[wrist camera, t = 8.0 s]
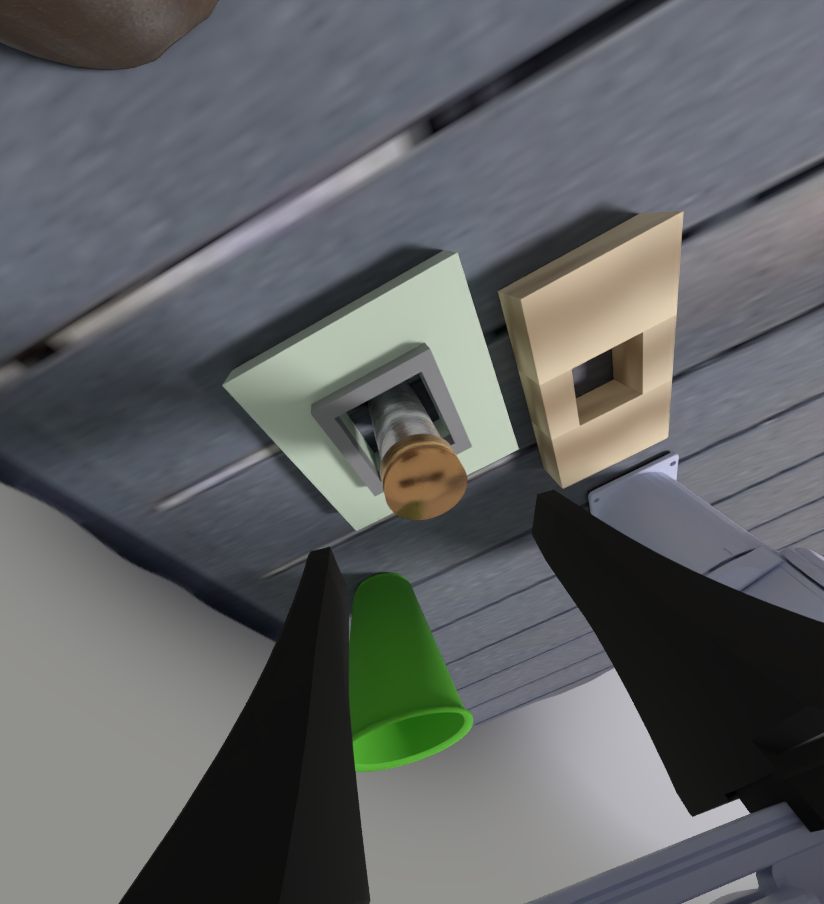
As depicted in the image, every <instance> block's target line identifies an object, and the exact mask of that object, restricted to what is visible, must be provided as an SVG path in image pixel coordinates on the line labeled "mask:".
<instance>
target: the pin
mask: <svg viewBox="0 0 824 904" xmlns="http://www.w3.org/2000/svg"><path fill="white" fill-rule="evenodd" d="M368 410H369V414H370V418H371V422H372V426H373V430H374V434H375V438H376V442H377V446H378V450H379V454H380V458H381V464H380V477H381V482H382V486H383V490H384V495H385V499H386V502H387V505H388V507H389V508H390V509H391V510H392V511H393V512H394V513H395V514H396V515H398V516H400V517H402V518H405V519H410V520H426V519H431V518H434V517H437V516H439V515H442V514H444V513H445V512H447V511H448V510H450V509H451V508H453V507H454V506H455V505H456V504H457V503H458V502H459V500H460V499H461V498H462V496H463V495H464V492H465V490H466V487H467V474H466V471H465V469H464V467H463V465H462V464H461V462H460V460H459V459H458V457H457V455H456V454H455V452H454V450H453V449H452V447H451V445H450V444H449V443H448V442H447V441H446V440H444V439H443V438H441V437H440V435H439V433H438V431H437V430H436V428H435V426H434V424H433V422H432V421H431V419H430V417H429V415H428V414H427V412H426V410H425V408H424V407H423V405H422V403H421V401H420V399H419V398H418V396H417V394H416V392H415V391H414V389H413V388H412V387H411V386H410V385H409V384H408V383H406V382H404V381H403V382H401V383H399V384H398V385H396V386H394V387H392V388H390V389H388V390H386V391H385V392H383V393H381V394H379V395H377V396H375V397H373V398H372V399H370V400H368Z"/></svg>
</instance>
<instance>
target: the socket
mask: <svg viewBox="0 0 824 904" xmlns="http://www.w3.org/2000/svg"><path fill="white" fill-rule="evenodd" d="M418 373H419V375H420V378H421V380H422V382H423V384H424V386H425V388H426V390H427V392H428V394H429V396H430V399H431V401H432V403H433V405H434V407H435V409H436V411H437V413H438V415H439V417H440V419H438V420H436V421H434V422H433V424H434V426H435V428H436V430H437V431H438V433H439V435H440V437H441V438H443V439H444V440H446V441H447V442H448V443H449V444H450V445H451V447H452V449H453V450H454V452H455V454H456V455H457V457H458V459H459V460H460V462H461V464H462V465H463V467H464V469H465V471H466V474H467V475H469V474H471V473H473V472H475V471H477V470H479V469H481V468H483V467H485V466H487V465H489V464H491V463H493V462H495V461H497V460H498V459H500V458H502V457H504V456H506V455H508V454H510V453H512V452H514V451H516V450H518V449H519V448H518V445H517V442H516V439H515V435H514V432H513V429H512V426H511V423H510V419H509V416H508V413H507V410H506V407H505V403H504V400H503V397H502V394H501V391H500V387H499V384H498V381H497V378H496V375H495V371H494V368H493V365H492V362H491V359H490V355H489V352H488V349H487V346H486V343H485V339H484V336H483V333H482V330H481V327H480V323H479V320H478V317H477V314H476V310H475V307H474V304H473V301H472V298H471V294H470V291H469V288H468V285H467V282H466V278H465V275H464V272H463V269H462V266H461V262H460V259H459V256H458V253H457V252H451V251H445V250H443V251H441V252H440V253H438V254H436V255H434V256H433V257H431V258H429V259H427V260H426V261H424V262H422V263H420V264H419V265H417V266H415V267H413V268H412V269H410V270H408V271H406V272H404V273H403V274H401V275H399V276H397V277H396V278H394V279H392V280H390V281H389V282H387V283H385V284H383V285H382V286H380V287H378V288H376V289H374V290H373V291H371V292H369V293H367V294H366V295H364V296H362V297H360V298H359V299H357V300H355V301H353V302H352V303H350V304H348V305H346V306H344V307H343V308H341V309H339V310H337V311H336V312H334V313H332V314H330V315H329V316H327V317H325V318H323V319H322V320H320V321H318V322H316V323H315V324H313V325H311V326H309V327H307V328H306V329H304V330H302V331H300V332H299V333H297V334H295V335H293V336H292V337H290V338H288V339H286V340H285V341H283V342H281V343H279V344H277V345H276V346H274V347H272V348H270V349H269V350H267V351H265V352H263V353H262V354H260V355H258V356H256V357H255V358H253V359H251V360H249V361H247V362H246V363H244V364H242V365H240V366H239V367H237V368H235V369H233V370H232V371H231V373H230V374H229V376H228V377H227V379H226V380H225V382H224V383H223V385H222V386H223V387H224V388H225V389H226V390H227V391H228V392H229V393H230V394H231V396H232V397H233V398H234V399H235V400H236V401H237V402H238V403H239V404H240V405H241V406H242V407H243V409H244V410H245V411H246V412H247V413H248V414H249V415H250V416H251V417H252V418H253V419H254V421H255V422H256V423H257V424H258V425H259V426H260V427H261V428H262V429H263V430H264V431H265V432H266V434H267V435H268V436H269V437H270V438H271V439H272V440H273V441H274V442H275V443H276V444H277V445H278V447H279V448H280V449H281V450H282V451H283V452H284V453H285V454H286V455H287V456H288V457H289V458H290V460H291V461H292V462H293V463H294V464H295V465H296V466H297V467H298V468H299V469H300V470H301V471H302V473H303V474H304V475H305V476H306V477H307V478H308V479H309V480H310V481H311V482H312V483H313V484H314V486H315V487H316V488H317V489H318V490H319V491H320V492H321V493H322V494H323V495H324V496H325V497H326V499H327V500H328V501H329V502H330V503H331V504H332V505H333V506H334V507H335V508H336V509H337V510H338V512H339V513H340V514H341V515H342V516H343V517H344V518H345V519H346V520H347V521H348V522H349V524H350V525H351V526H352V527H353V528H354V529H355V530H356V531H358V530H360V529H362V528H364V527H366V526H368V525H370V524H372V523H374V522H376V521H378V520H380V519H382V518H384V517H386V516H388V515H390V514H392V513H394V512H393V511H392V510H391V509H390V508H389V507H388V505H387V502H386V499H385V495H384V490H383V486H382V482H381V477H380V464H381V458H380V454H379V451H377V452H375V453H374V452H373V451H372V449H371V448H370V446H369V445H368V443H367V442H366V441H365V439H364V438H363V436H362V435H361V433H360V432H359V430H358V429H357V427H356V426H355V425H354V423H353V422H352V420H351V419H350V417H349V416H348V414H347V413H346V412H347V411H349V410H351V409H353V408H355V407H357V406H359V405H360V404H362V403H364V402H366V401H368V400H370V399H372V398H373V397H375V396H377V395H379V394H381V393H383V392H385V391H386V390H388V389H390V388H392V387H394V386H396V385H398V384H399V383H401V382H403V381H405V380H407V379H409V378H411V377H412V376H414V375H416V374H418Z"/></svg>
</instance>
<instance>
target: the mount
mask: <svg viewBox="0 0 824 904" xmlns="http://www.w3.org/2000/svg"><path fill="white" fill-rule="evenodd" d="M682 226H683V211H675V212H657V213H640V214H638V215H636V216H634V217H632V218H631V219H629V220H627V221H625V222H623V223H621V224H620V225H618V226H616V227H614V228H612V229H611V230H609V231H607V232H605V233H603V234H601V235H600V236H598V237H596V238H594V239H592V240H590V241H589V242H587V243H585V244H583V245H581V246H580V247H578V248H576V249H574V250H572V251H570V252H569V253H567V254H565V255H563V256H561V257H559V258H558V259H556V260H554V261H552V262H550V263H549V264H547V265H545V266H543V267H541V268H539V269H538V270H536V271H534V272H532V273H530V274H529V275H527V276H525V277H523V278H521V279H519V280H518V281H516V282H514V283H512V284H510V285H508V286H507V287H505V288H503V289H501V290H499V291H498V295H499V299H500V302H501V306H502V310H503V314H504V318H505V322H506V325H507V329H508V333H509V337H510V341H511V345H512V348H513V352H514V356H515V360H516V364H517V368H518V371H519V375H520V379H521V383H522V387H523V391H524V394H525V398H526V402H527V406H528V410H529V414H530V417H531V421H532V425H533V429H534V433H535V437H536V441H537V444H538V448H539V452H540V456H541V460H542V464H543V467H544V469H545V470H546V471H547V473H548V474H549V475H550V476H551V477H552V478H553V479H554V480H555V481H556V482H557V483H558V485H559V486H560V487H561V488H562V489H564V488H566V487H568V486H570V485H572V484H574V483H576V482H578V481H580V480H582V479H584V478H587V477H589V476H591V475H593V474H595V473H597V472H599V471H601V470H603V469H605V468H607V467H609V466H611V465H613V464H615V463H617V462H619V461H621V460H623V459H625V458H627V457H629V456H631V455H634V454H636V453H638V452H640V451H642V450H644V449H646V448H648V447H650V446H652V445H654V444H656V443H658V442H660V441H662V440H664V439H666V438H668V430H669V415H670V400H671V386H672V371H673V357H674V342H675V328H676V313H677V298H678V284H679V269H680V255H681V240H682ZM611 348H612V360H613V377H614V379H613V380H611V381H609V382H607V383H605V384H604V385H602V386H600V387H598V388H596V389H594V390H592V391H590V392H588V393H586V394H584V395H582V396H580V397H578V398H576V397H575V390H574V384H573V377H572V370H571V369H573V368H575V367H576V366H578V365H580V364H582V363H584V362H586V361H588V360H590V359H592V358H594V357H596V356H598V355H600V354H602V353H603V352H605V351H607V350H609V349H611Z"/></svg>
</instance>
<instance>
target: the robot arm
mask: <svg viewBox="0 0 824 904" xmlns="http://www.w3.org/2000/svg"><path fill="white" fill-rule="evenodd" d="M678 458H679V456H678V455H677V454H676V453H674V452H672V453H669V454H667V455H665V456H663V457H661V458H659V459H657V460H655V461H653V462H651V463H649V464H647V465H645V466H643V467H640V468H638V469H636V470H634V471H632V472H630V473H628V474H626V475H624V476H622V477H620V478H618V479H616V480H614V481H612V482H610V483H607V484H605V485H603V486H601V487H599V488H597V489H595V490H593V491H591V492H590V493H589V495H588V499H589V506H590V512H591V514H590V513H589V512H587V511H586V510H584V509H583V508H581V507H580V506H578V505H576V504H575V503H573V502H572V501H570V500H569V499H567V498H566V497H564V496H562V495H561V494H559V493H558V492H556V491H554V490H552V491H548V492H544V493H540V494H537V500H536V507H535V514H534V521H533V528H532V535H533V537H534V539H535V541H536V543H537V545H538V547H539V549H540V551H541V552H542V554H543V556H544V558H545V560H546V561H547V563H548V564H549V566H550V567H551V569H552V570H553V572H554V573H555V575H556V576H557V578H558V579H559V581H560V582H561V583H562V585H563V586H564V588H565V589H566V591H567V592H568V593H569V595H570V596H571V598H572V599H573V601H574V602H575V604H576V605H577V606H578V608H579V609H580V611H581V612H582V614H583V615H584V617H585V618H586V620H587V621H588V623H589V624H590V626H591V627H592V629H593V630H594V632H595V634H596V635H597V637H598V639H599V641H600V643H601V644H602V646H603V648H604V650H605V651H606V653H607V655H608V657H609V658H610V660H611V662H612V664H613V666H614V667H615V669H616V671H617V673H618V675H619V677H620V678H621V680H622V682H623V684H624V686H625V688H626V689H627V691H628V693H629V695H630V697H631V699H632V701H633V703H634V705H635V707H636V709H637V711H638V713H639V715H640V717H641V719H642V721H643V723H644V725H645V727H646V729H647V730H648V733H649V734H650V737H651V739H652V741H653V743H654V745H655V747H656V749H657V752H658V754H659V756H660V758H661V760H662V762H663V764H664V766H665V768H666V770H667V772H668V775H669V777H670V779H671V781H672V784H673V786H674V788H675V790H676V793H677V794H678V796H679V797H680V799H681V801H682V802H683V804H684V805H685V807H686V808H687V810H688V812H689V813H690V815H692V817H693V816H696V815H698V814H701V813H703V812H706V811H709V810H711V809H714V808H716V807H719V806H721V805H724V804H726V803H729V802H732V801H734V800H737V799H740V800H741V801H742V803H743V804H744V805H745V807H746V808H747V810H748V811H749V812H750V814H749V815H746V816H744V817H741V818H738V819H736V820H734V821H731V822H729V823H726V824H724V825H721V826H718V827H716V828H713V829H711V830H708V831H706V832H703V833H701V834H698V835H696V836H693V837H691V838H688V839H686V840H683V841H681V842H678V843H676V844H674V845H671V846H668V847H666V848H664V849H661V850H658V851H656V852H653V853H651V854H648V855H646V856H643V857H641V858H638V859H636V860H633V861H631V862H628V863H626V864H623V865H621V866H618V867H616V868H613V869H611V870H608V871H606V872H603V873H601V874H598V875H596V876H593V877H591V878H588V879H586V880H583V881H581V882H578V883H576V884H573V885H571V886H568V887H566V888H563V889H561V890H558V891H556V892H553V893H550V894H548V895H545V896H543V897H540V898H538V899H536V900H533V901H530V902H528V903H525V904H681V903H684V902H686V901H688V900H691V899H693V898H695V897H698V896H700V895H702V894H705V893H707V892H709V891H712V890H714V889H716V888H719V887H721V886H724V885H726V884H729V883H731V882H733V881H735V880H738V879H740V878H743V877H745V876H747V875H750V874H752V873H754V872H756V877H757V880H758V884H759V887H758V889H751V890H745V891H740V892H735V893H731V894H728V895H726V896H723V897H720V898H718V899H716V900H715V901H713V902H712V903H710V904H824V557H823V556H821V555H819V554H817V553H816V552H814V551H812V550H810V549H804V548H797V549H796V548H793V547H787V548H785V549H784V550H783V551H781V552H779V551H777V550H774V549H772V548H770V547H769V546H767V545H766V544H764V543H763V542H762V541H760V540H759V539H757V538H756V537H755V536H753V535H752V534H750V533H749V532H748V531H746V530H745V529H743V528H742V527H741V526H739V525H738V524H736V523H735V522H734V521H732V520H731V519H729V518H728V517H726V516H725V515H724V514H722V513H721V512H719V511H718V510H717V509H715V508H714V507H712V506H711V505H710V504H708V503H707V502H705V501H704V500H703V499H701V498H700V497H698V496H697V495H696V494H694V493H693V492H691V491H690V490H689V489H687V488H686V487H684V486H683V485H682V484H680V483H679V482H677V481H676V478H677V468H678ZM369 903H370V894H369V886H368V879H367V870H366V862H365V854H364V845H363V837H362V828H361V819H360V810H359V801H358V792H357V782H356V771H355V761H354V751H353V740H352V728H351V717H350V702H349V613H348V603H347V595H346V586H345V582H344V579H343V577H342V574H341V572H340V570H339V567H338V565H337V562H336V560H335V558H334V555H333V553H332V550H331V548H330V547H327V548H323V549H319V550H315V551H311V552H310V554H309V555H308V559H307V562H306V565H305V569H304V572H303V575H302V578H301V581H300V584H299V586H298V589H297V592H296V595H295V598H294V600H293V603H292V605H291V608H290V610H289V613H288V616H287V618H286V621H285V623H284V626H283V628H282V630H281V632H280V635H279V637H278V639H277V641H276V644H275V646H274V648H273V650H272V653H271V655H270V657H269V659H268V662H267V664H266V666H265V668H264V670H263V672H262V674H261V676H260V678H259V680H258V682H257V684H256V686H255V688H254V690H253V691H252V694H251V696H250V697H249V699H248V701H247V703H246V705H245V707H244V709H243V710H242V712H241V714H240V716H239V717H238V719H237V721H236V723H235V724H234V726H233V728H232V730H231V732H230V733H229V735H228V737H227V739H226V740H225V742H224V744H223V745H222V747H221V749H220V751H219V752H218V754H217V756H216V757H215V759H214V760H213V762H212V764H211V765H210V767H209V768H208V770H207V772H206V773H205V775H204V776H203V778H202V780H201V781H200V783H199V784H198V786H197V788H196V789H195V791H194V792H193V794H192V796H191V797H190V799H189V800H188V802H187V804H186V805H185V807H184V808H183V810H182V811H181V813H180V814H179V816H178V817H177V819H176V820H175V822H174V824H173V825H172V827H171V828H170V830H169V831H168V832H167V834H166V835H165V837H164V838H163V840H162V841H161V843H160V844H159V846H158V847H157V848H156V850H155V851H154V853H153V854H152V856H151V857H150V859H149V860H148V862H147V863H146V865H145V866H144V867H143V869H142V870H141V872H140V873H139V875H138V876H137V878H136V879H135V881H134V882H133V884H132V885H131V886H130V888H129V889H128V891H127V892H126V894H125V895H124V897H123V898H122V899H121V901H120V902H119V904H369Z"/></svg>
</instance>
